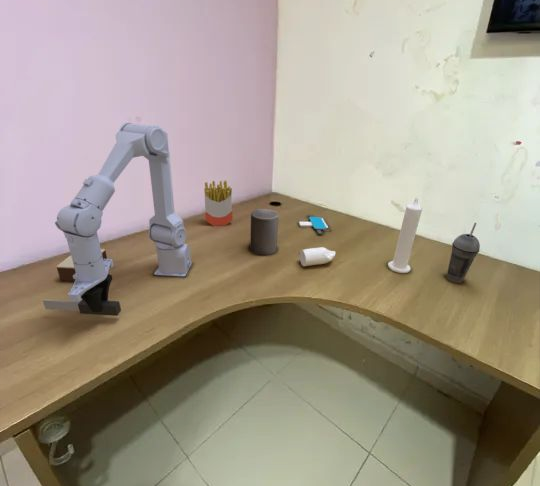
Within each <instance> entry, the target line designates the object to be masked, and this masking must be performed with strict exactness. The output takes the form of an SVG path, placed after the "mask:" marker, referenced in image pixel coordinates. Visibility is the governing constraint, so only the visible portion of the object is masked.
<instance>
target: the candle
mask: <svg viewBox="0 0 540 486" xmlns="http://www.w3.org/2000/svg"><path fill="white" fill-rule="evenodd" d="M404 210H405V211H404V214H403V218H402V222H401V227H400V230H399V236H398V239H397V243H396V248H395V251H394V255H393V260H391V261H389V262H388V263H387V267H388V269H390V270H391V271H393V272H394V273H395V272H396V273H398V274H408V273H410V272H411V269H412V268H411V266H410V265H409V260H410V256H411V253H412V252H411V251H412V249H413V245H414V241H415V237H416V235H417V230H418V226H419V223H420V220H421V215H422V212H423V207H422V206H421V205H420V204H419V196H415V198H414V200H413V201H412V202H410V203H409V204H407V205H406V206H405V209H404Z"/></svg>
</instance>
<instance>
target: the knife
mask: <svg viewBox="0 0 540 486" xmlns="http://www.w3.org/2000/svg"><path fill="white" fill-rule="evenodd" d="M101 302H102V311H101V312H92V311H91V309H90V308H89V306H88V305H87V304H86V302H85V301H84V300H83V299H81V300H80V301H79V302H70V301H69V300H60V299H45V298H43V299H42V303H43V306H44V309H45V310H56V311H57V310H58V311H71V312H72V311H73V312H79V314H81V315H96V316H112V317H113V316H115V317H117V316H119V314H120V313H121V312H122V308H121V303H120V301H119V300H108V301H104V300H101Z"/></svg>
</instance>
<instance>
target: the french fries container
mask: <svg viewBox="0 0 540 486" xmlns="http://www.w3.org/2000/svg"><path fill="white" fill-rule="evenodd" d="M204 207H205V208H204V212H205V221H206V222H207V223H208V224H210V225H211V226H213V227H215V226H227V225H228V224H229V223H230V222H232V221H233V188H232V187H231V185H228V181H227V180H223V182H222V180H219V183H217V184H216V181H215V180H212V182H211V183H209V185H208V181H205V182H204Z"/></svg>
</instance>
